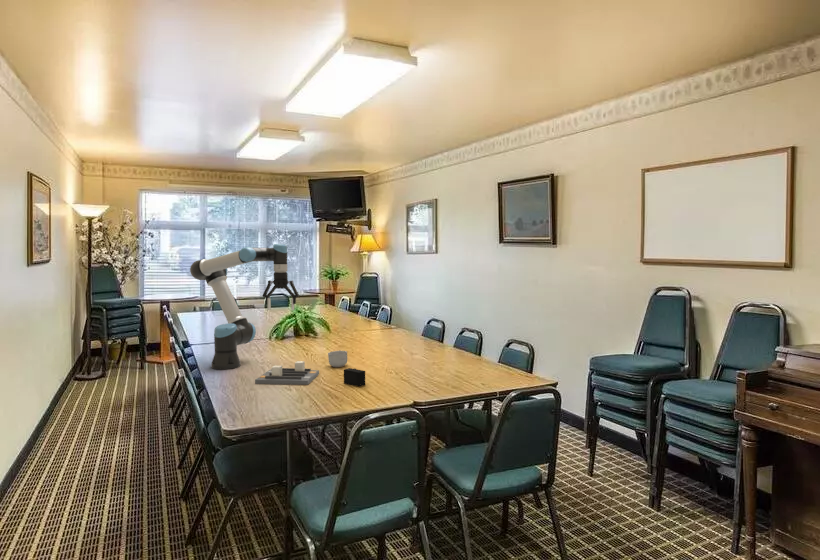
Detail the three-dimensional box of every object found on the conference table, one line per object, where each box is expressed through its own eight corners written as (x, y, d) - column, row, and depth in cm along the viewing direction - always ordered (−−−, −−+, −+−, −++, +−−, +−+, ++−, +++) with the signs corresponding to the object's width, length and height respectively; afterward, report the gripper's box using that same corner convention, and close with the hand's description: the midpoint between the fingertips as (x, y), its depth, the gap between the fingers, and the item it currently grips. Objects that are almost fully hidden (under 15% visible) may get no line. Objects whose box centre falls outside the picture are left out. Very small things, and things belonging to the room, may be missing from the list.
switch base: (255, 383, 246) (255, 377, 246) (270, 373, 268) (270, 367, 268) (307, 384, 244) (307, 378, 244) (319, 374, 266) (319, 368, 266)
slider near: (271, 377, 249) (271, 367, 249) (274, 375, 253) (274, 365, 253) (279, 377, 249) (279, 367, 249) (282, 375, 253) (282, 365, 253)
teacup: (343, 368, 279) (343, 354, 278) (325, 367, 281) (325, 353, 280) (351, 363, 292) (351, 349, 292) (333, 362, 294) (333, 348, 294)
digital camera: (367, 384, 245) (367, 370, 245) (359, 386, 241) (359, 372, 241) (351, 381, 251) (351, 367, 251) (343, 383, 247) (343, 369, 247)
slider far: (294, 372, 260) (294, 362, 259) (297, 370, 264) (297, 361, 263) (302, 372, 259) (302, 362, 259) (304, 370, 263) (304, 361, 263)
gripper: (256, 272, 280) (256, 310, 281) (300, 272, 278) (300, 310, 279) (261, 271, 287) (261, 308, 289) (304, 271, 286) (304, 309, 287)
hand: (281, 309), depth 284 cm, fingers open, 13 cm apart
